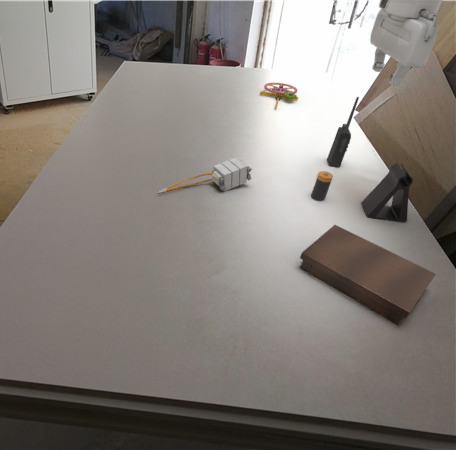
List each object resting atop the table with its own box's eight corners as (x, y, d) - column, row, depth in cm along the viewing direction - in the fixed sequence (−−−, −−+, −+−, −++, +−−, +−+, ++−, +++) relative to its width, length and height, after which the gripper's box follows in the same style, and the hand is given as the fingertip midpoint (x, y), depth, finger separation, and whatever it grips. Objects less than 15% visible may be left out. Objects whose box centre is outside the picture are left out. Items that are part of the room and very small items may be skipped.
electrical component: (168, 215, 98) (166, 199, 94) (157, 202, 102) (155, 186, 98) (251, 181, 103) (252, 165, 100) (238, 170, 108) (238, 154, 104)
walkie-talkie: (340, 168, 115) (366, 99, 103) (328, 166, 116) (353, 97, 104) (338, 160, 119) (362, 93, 107) (326, 158, 120) (349, 91, 108)
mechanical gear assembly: (298, 88, 171) (262, 84, 174) (301, 78, 168) (264, 74, 172) (296, 113, 148) (255, 108, 151) (299, 101, 145) (257, 97, 149)
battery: (327, 197, 102) (336, 173, 98) (320, 202, 100) (329, 178, 96) (314, 192, 104) (323, 168, 100) (308, 196, 102) (316, 172, 98)
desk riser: (426, 288, 77) (436, 273, 75) (399, 328, 69) (409, 312, 67) (329, 238, 88) (334, 224, 86) (296, 267, 80) (301, 252, 78)
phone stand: (398, 208, 100) (419, 165, 93) (406, 222, 95) (429, 178, 88) (360, 203, 101) (379, 160, 93) (366, 217, 96) (386, 173, 89)
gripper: (457, 16, 70) (421, 95, 79) (407, -1, 87) (381, 65, 95) (421, 13, 71) (389, 92, 79) (378, -4, 87) (354, 63, 95)
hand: (384, 77), depth 87 cm, fingers open, 8 cm apart
